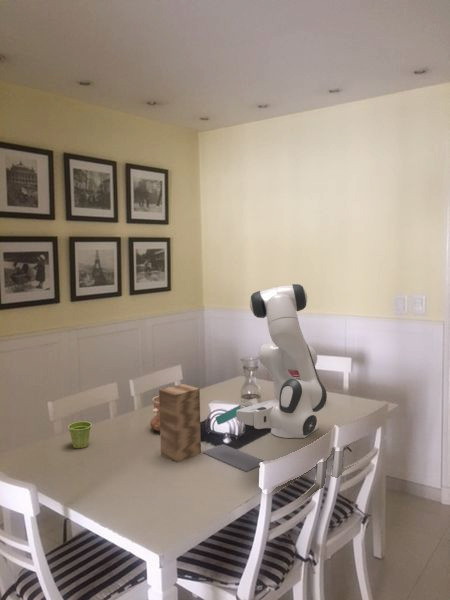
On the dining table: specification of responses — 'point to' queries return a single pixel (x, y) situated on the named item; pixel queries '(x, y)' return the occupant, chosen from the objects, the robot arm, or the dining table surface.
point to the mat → (234, 457)
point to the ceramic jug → (156, 420)
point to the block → (233, 412)
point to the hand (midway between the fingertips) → (245, 406)
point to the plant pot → (80, 434)
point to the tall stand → (180, 422)
